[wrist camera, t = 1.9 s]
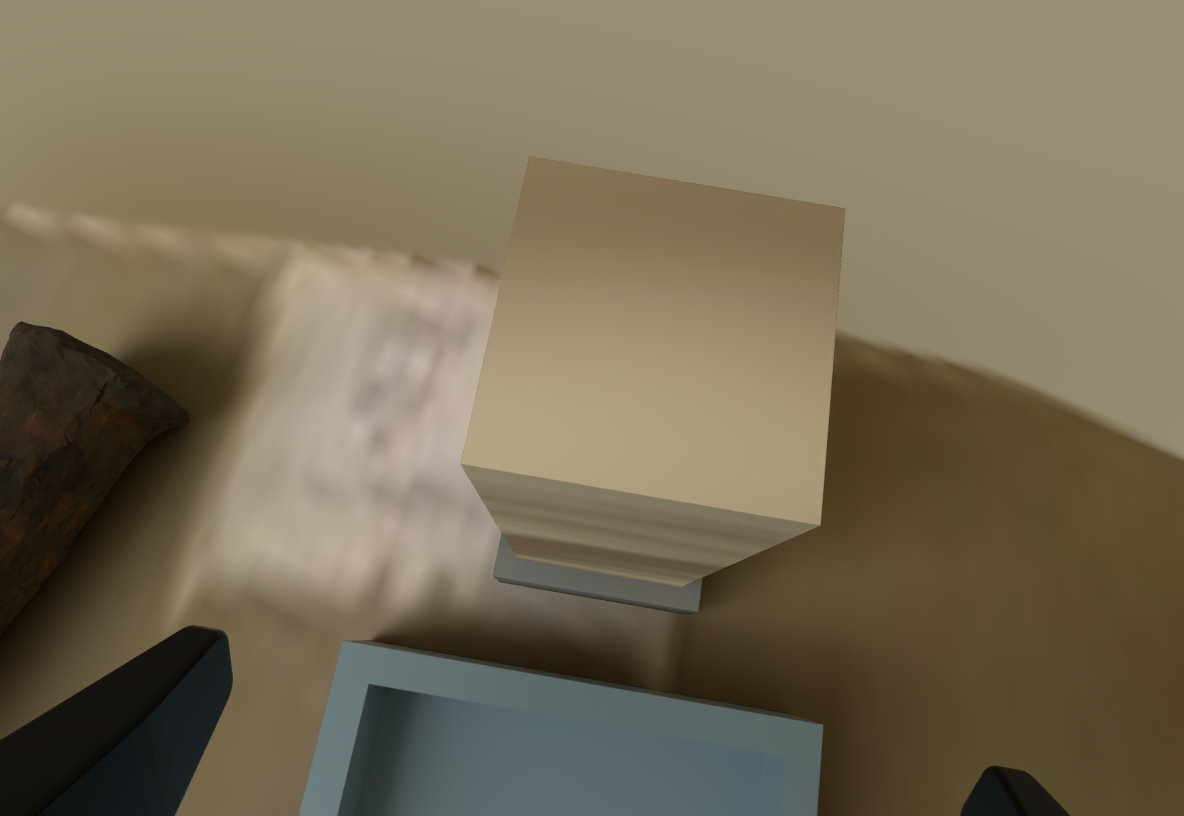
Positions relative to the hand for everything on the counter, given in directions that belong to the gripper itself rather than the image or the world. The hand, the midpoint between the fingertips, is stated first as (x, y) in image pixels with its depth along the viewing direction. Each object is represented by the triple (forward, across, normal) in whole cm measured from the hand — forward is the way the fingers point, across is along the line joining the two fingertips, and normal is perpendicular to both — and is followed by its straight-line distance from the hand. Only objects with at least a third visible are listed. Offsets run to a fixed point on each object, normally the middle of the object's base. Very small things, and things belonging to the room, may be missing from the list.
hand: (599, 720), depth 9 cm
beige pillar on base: (+11, 0, +5) cm, 12 cm away
